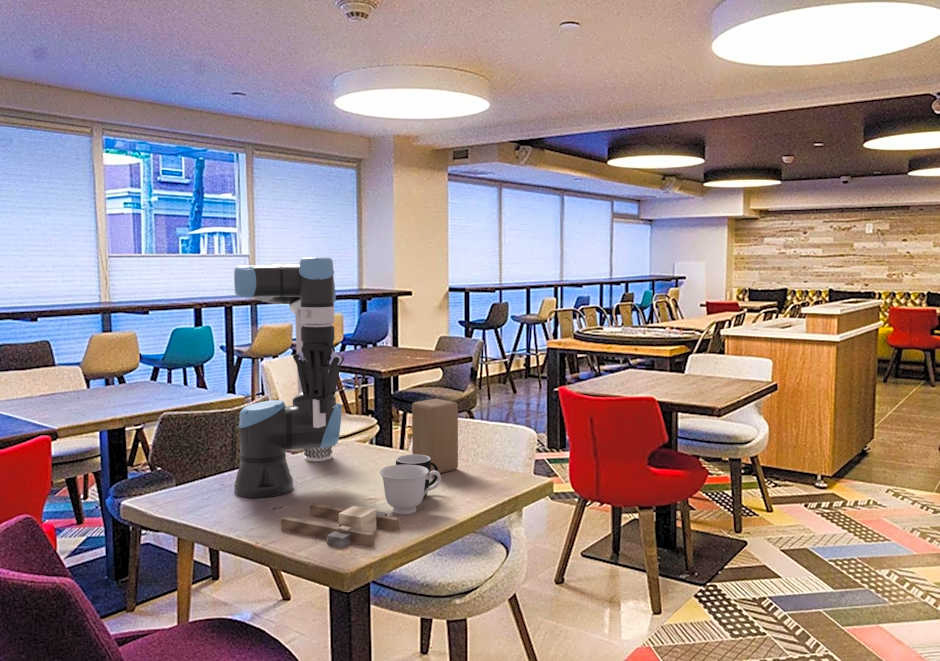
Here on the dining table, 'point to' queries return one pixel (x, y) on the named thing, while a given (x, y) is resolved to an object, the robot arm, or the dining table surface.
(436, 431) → the block
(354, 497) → the dining table surface
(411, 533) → the dining table surface
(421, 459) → the mug
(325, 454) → the decorative candle
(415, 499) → the teacup
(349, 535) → the beam slot
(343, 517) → the block
